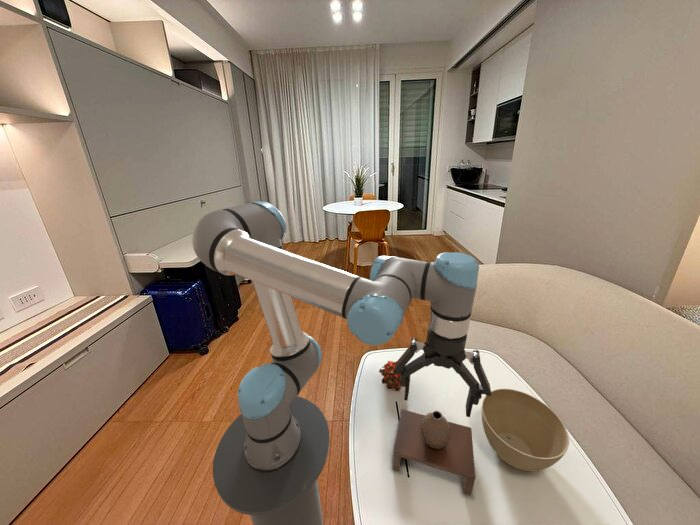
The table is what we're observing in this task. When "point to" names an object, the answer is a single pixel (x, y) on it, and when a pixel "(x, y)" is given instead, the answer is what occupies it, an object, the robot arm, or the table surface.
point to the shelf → (448, 458)
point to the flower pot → (523, 430)
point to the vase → (435, 430)
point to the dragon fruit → (390, 376)
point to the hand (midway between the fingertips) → (436, 403)
